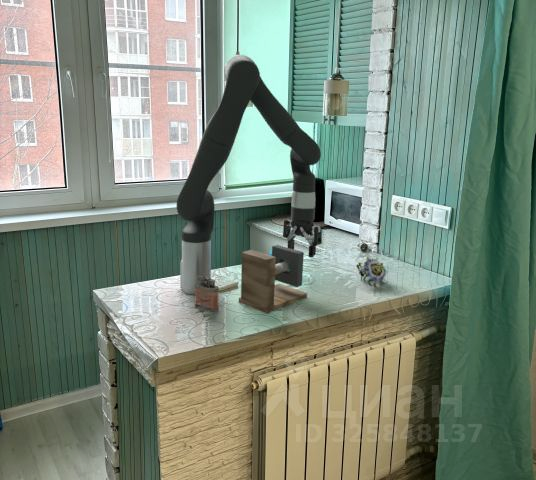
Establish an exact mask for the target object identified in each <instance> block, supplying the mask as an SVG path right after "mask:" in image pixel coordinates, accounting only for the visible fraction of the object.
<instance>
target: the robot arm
mask: <svg viewBox="0 0 536 480" xmlns="http://www.w3.org/2000/svg"><path fill="white" fill-rule="evenodd" d="M224 77H225V79H226V81H225V86H224V90H223V93H222V97H221V100H220V103H219V105H218V107H217V108H216V110H215V112H214V113H213V114H212V116H211V118H210V119H209V120H208V123H207V124H206V127H205V129H204V130H203V131H204V132H203V134H202V137H201V140H200V143H199V145H198V149H197V152H196V154H195V157H194V160H193V162H192V165H191V168H190V171H189V174H188V175H187V178H186V180H185V182H184V184H183V186H182V189H181V191H180V192H179V195H178V197H177V200H176V210H177V211H176V212H177V214H178V216H179V218H181V219H182V220H184V221H188V222H187V223H186V225H185V227H184V228H183V229H182V231H181V260H180V261H179V265H180V266H179V272H180V273H179V276H180V285H179V287H180V289H181V290H182V292H183V293H185V294H187V295H194V296H195V283H197V282H201V281H198V280H197V277H198V276H203V277H205V278H207V277H210V278H211V277H212V270H211V269H212V267H211V265H212V264H211V263H212V262H211V260H212V256H211V255H212V251H211V250H212V243H211V242H212V233H213V230H214V227H215V226H214V224H215V200H214V196H213V195H212V193H211V192H210V190H208V189H209V186H210V184H211V183H212V181H213V179H214V178H215V177H216V175H217V174H218V173H219V171H221V169H222V168H223V167H224V165H225V164H226V162H227V161H228V159H229V156H230V154H231V152H232V149H233V147H234V143H235V140H236V139H237V136H238V132H239V129H240V126H241V124H242V120H243V116H244V113H245V111H246V109H247V108H248V105H249V103H250V102H251V103H252V105H253V106H254V107H255V108H256V110H257V111H258V113H259V114H260V115H261V117H262V119H263V120H264V121H265V123H266V124H267V125H268V127H269V128H270V129H271V131H272V132H273V133H274V135H275V136H276V137H277V138H278V139H279V141H280V142H281V143H283V144H284V145H285V146H288V147H289V148H290V153H289V158H290V159H289V161H290V166H291V167H290V168H291V173H292V177H293V179H292V194H291V195H292V196H291V209H290V218H289V219H284V221H283V230H282V238H285V239H286V240H287V248H290V249H294V250H295V239H296V237H301V238H304V239H305V240H306V241H307V243H308V244H309V246H308V258H314V257H315V256H316V250H317V246H319V245H322V244H323V243H322V241H323V239H322V238H323V233H322V232H323V231H322V230H323V227H322V226H321V225H314V220H315V219H316V218H315V216H316V214H315V213H316V175H315V174H314V172H312V171H311V166H314V165H317V164H319V162H320V159H321V157H322V151H321V148H320V146H319V144H318V143H317V142H316V141H315V140H314V139H313V138H312V137H311V136H310V135H309V134H308V133H307V132H306V131H304V130H303V129H302V128H301V127H300V126H299V124H298V123H297V122H296V120H295V119H294V117H293V116H292V115H291V114H290V113H289V111H288V110H287V109H286V108H285V107H284V105H282V104H281V102H280V101H279V100H278V98H276V96H274V94H273V93H272V91H271V90H270V89H269V88H268V86H267V84H265V81H264V80H263V79H262V77H261V72H260V70H259V67H258V65H257V64H256V62H255V61H254V60H253V59H252V57H249V56H248V55H245V54H236V55H233V56H231V57H230V58H229V59H228V60H227V62H226V64H225V66H224ZM211 279H212V278H211Z"/></svg>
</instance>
